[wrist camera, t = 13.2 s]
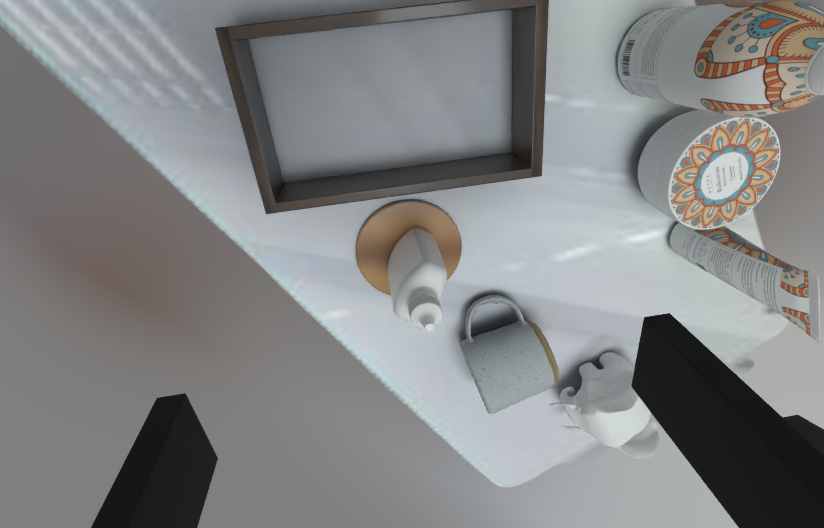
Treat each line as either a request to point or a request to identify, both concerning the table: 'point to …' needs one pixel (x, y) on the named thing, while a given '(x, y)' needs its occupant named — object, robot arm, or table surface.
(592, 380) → the elephant figurine
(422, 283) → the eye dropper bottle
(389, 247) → the coaster
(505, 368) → the ceramic mug
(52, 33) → the table surface
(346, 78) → the table surface
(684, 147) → the cosmetic set
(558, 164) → the table surface
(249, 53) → the dark wooden open box
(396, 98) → the table surface
